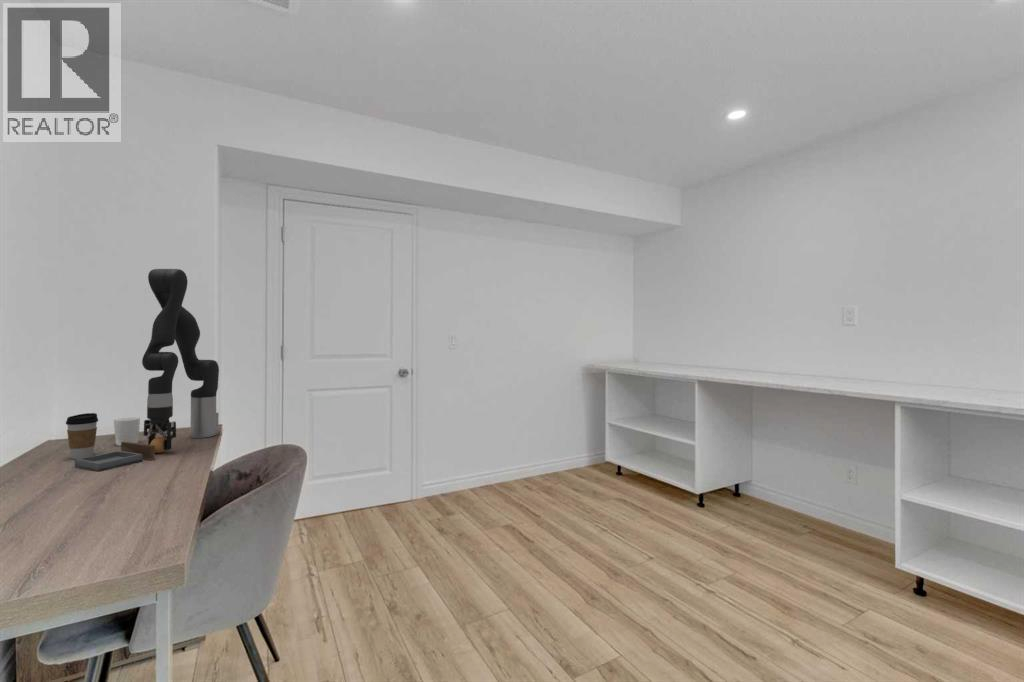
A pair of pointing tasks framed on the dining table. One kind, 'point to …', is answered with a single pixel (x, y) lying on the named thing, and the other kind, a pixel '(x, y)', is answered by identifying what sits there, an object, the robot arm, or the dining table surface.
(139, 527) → the dining table surface
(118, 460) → the tray
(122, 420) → the white cup
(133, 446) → the fence
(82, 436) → the coffee cup
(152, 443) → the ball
